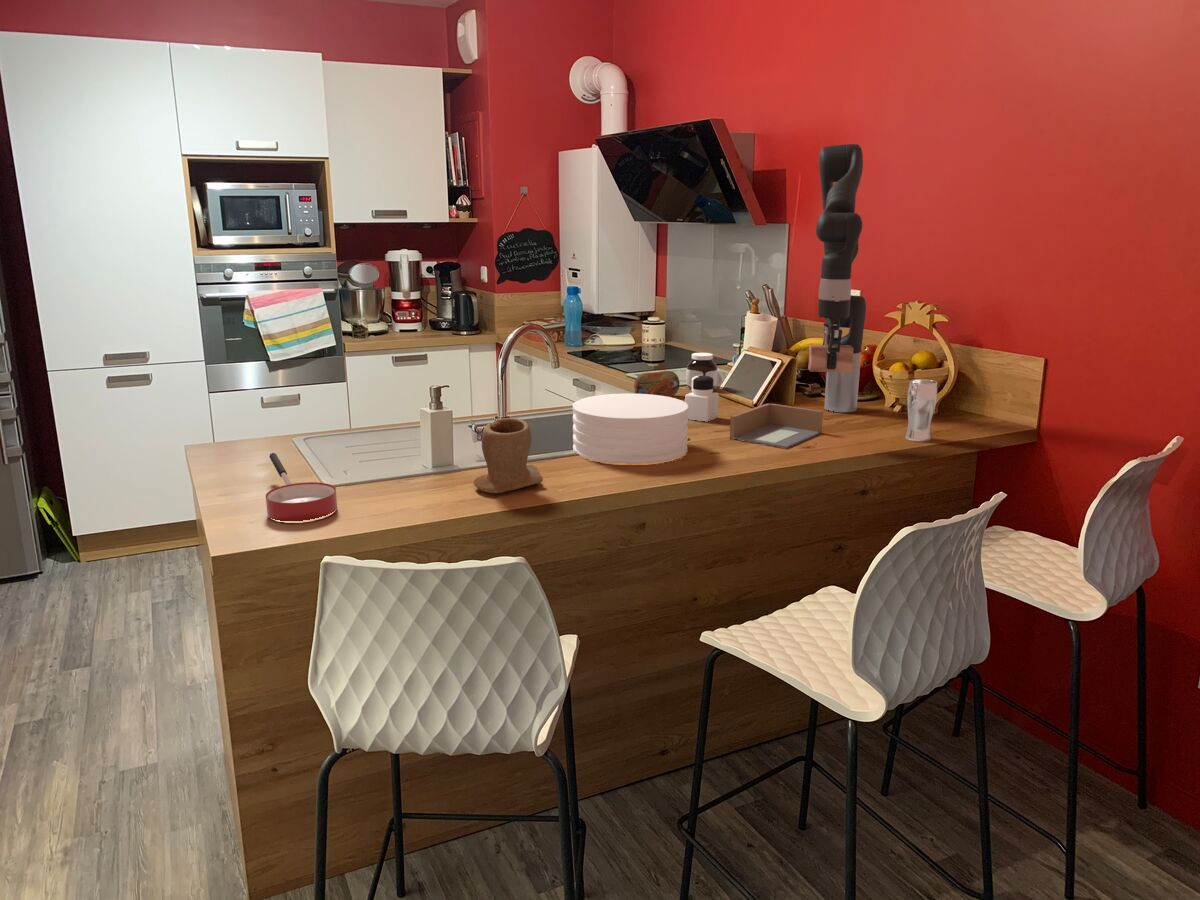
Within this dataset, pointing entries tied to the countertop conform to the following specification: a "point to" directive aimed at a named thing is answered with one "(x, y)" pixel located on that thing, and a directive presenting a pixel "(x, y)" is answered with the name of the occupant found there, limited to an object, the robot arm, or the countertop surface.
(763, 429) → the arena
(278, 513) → the frying pan
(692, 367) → the spread jar
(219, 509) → the countertop surface
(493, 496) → the countertop surface
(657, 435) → the plate stack
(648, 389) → the tin
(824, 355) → the block
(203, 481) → the countertop surface
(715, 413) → the medicine bottle
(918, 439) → the beer glass
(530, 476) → the stone cup
